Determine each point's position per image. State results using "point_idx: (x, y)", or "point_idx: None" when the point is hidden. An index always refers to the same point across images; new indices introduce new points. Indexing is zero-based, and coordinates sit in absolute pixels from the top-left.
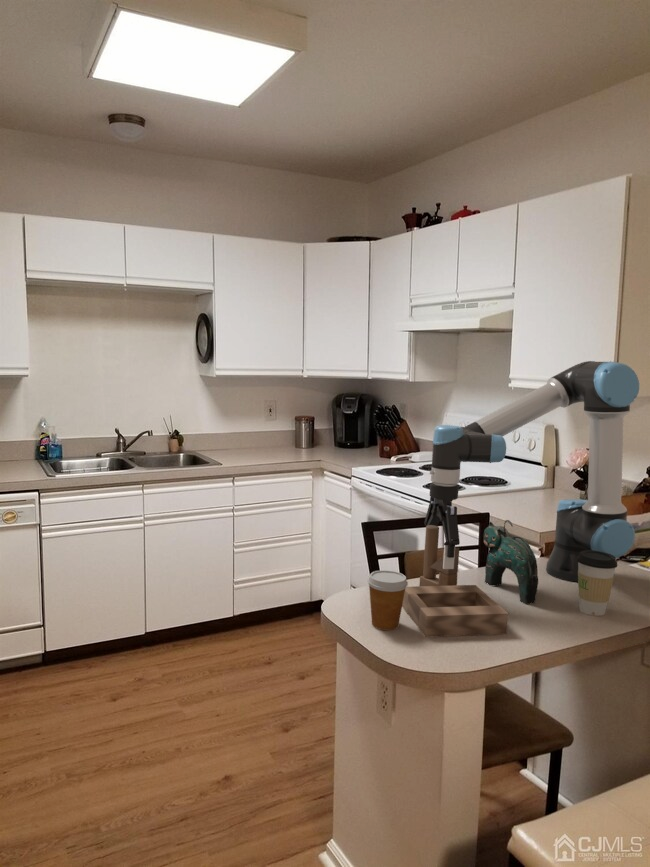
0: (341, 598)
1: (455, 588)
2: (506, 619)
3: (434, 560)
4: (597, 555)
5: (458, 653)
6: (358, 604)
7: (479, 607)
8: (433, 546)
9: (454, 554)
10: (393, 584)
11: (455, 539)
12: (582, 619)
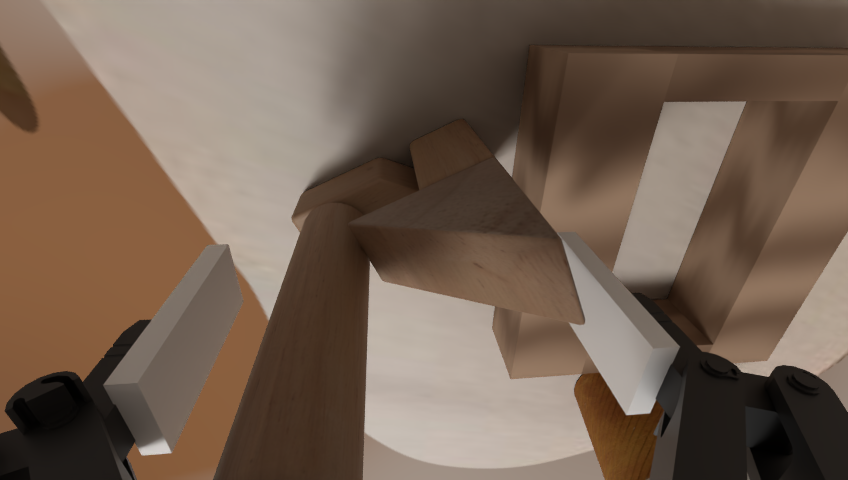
0: (415, 446)
1: (583, 191)
2: None
3: (367, 277)
4: None
5: (838, 264)
6: (463, 418)
7: (819, 167)
8: (365, 356)
9: (626, 289)
10: None
11: (741, 403)
12: None
